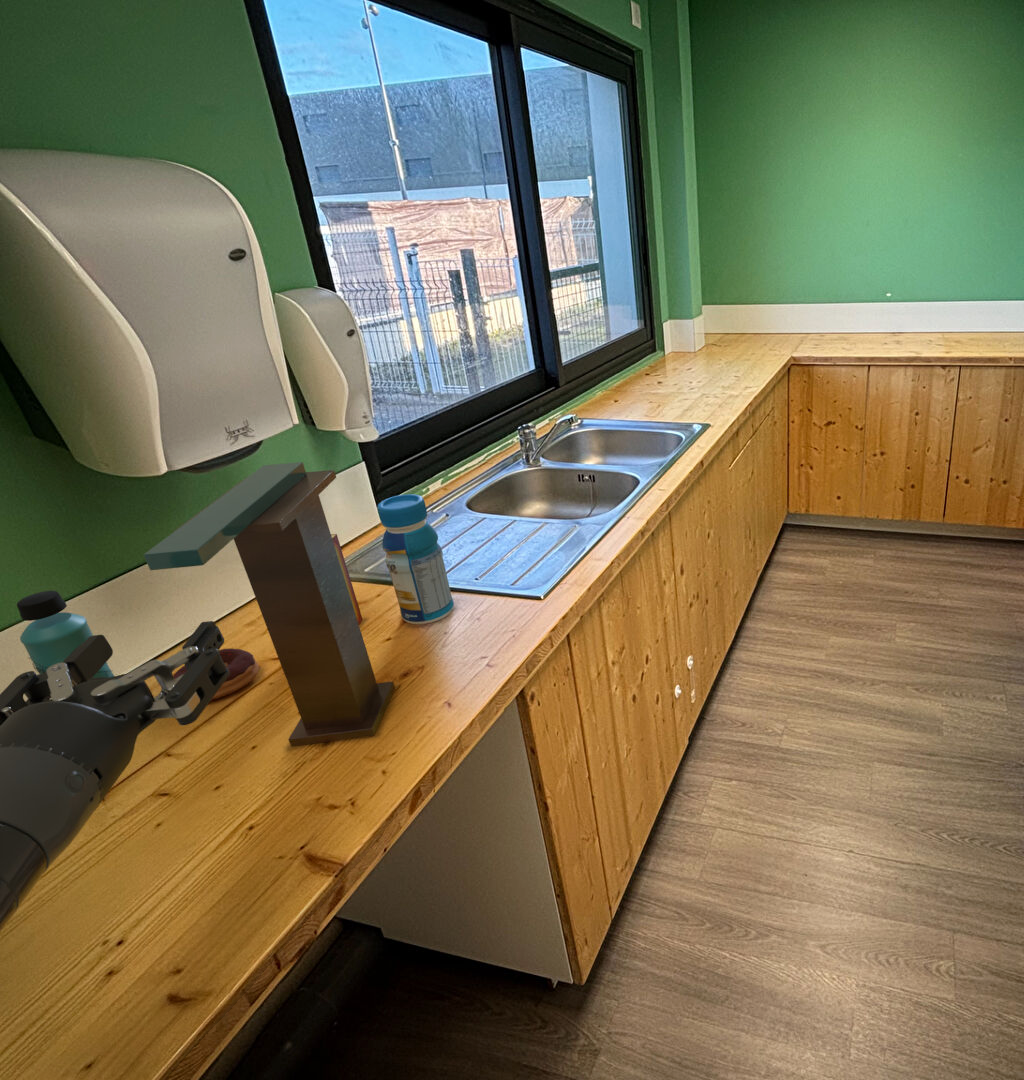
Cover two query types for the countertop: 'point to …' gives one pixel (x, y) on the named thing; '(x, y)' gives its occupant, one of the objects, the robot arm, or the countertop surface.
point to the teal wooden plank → (224, 518)
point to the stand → (312, 616)
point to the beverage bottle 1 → (53, 631)
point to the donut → (233, 670)
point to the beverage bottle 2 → (414, 560)
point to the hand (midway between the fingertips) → (159, 636)
